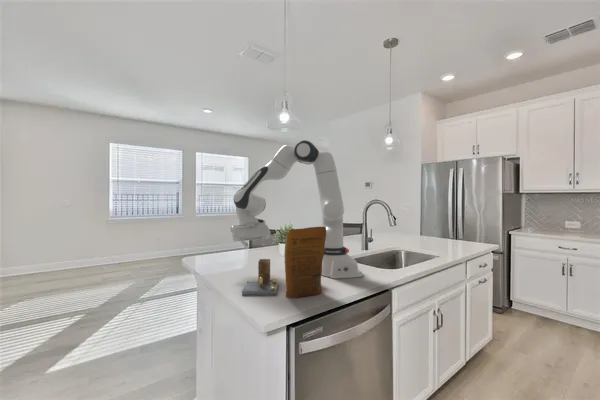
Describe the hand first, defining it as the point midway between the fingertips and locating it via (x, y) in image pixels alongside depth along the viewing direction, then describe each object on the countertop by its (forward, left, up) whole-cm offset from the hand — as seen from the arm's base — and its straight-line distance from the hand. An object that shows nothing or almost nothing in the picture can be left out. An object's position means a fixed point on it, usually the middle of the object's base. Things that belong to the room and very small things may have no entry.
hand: (255, 245), depth 140 cm
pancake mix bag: (-25, +28, -15) cm, 41 cm away
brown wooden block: (-6, +10, -15) cm, 19 cm away
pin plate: (-6, +22, -15) cm, 28 cm away
